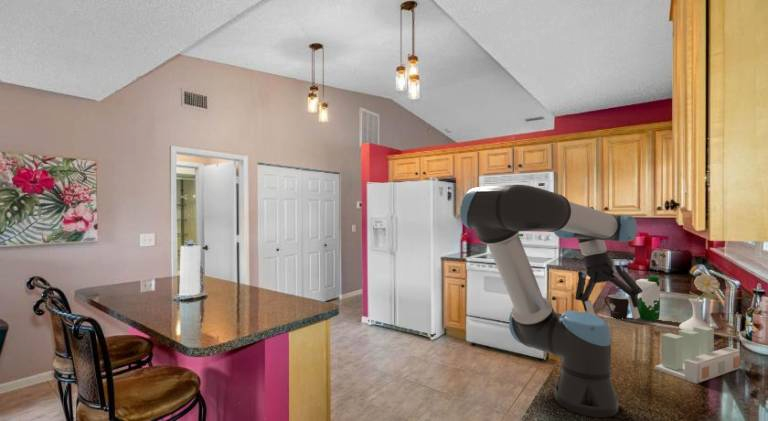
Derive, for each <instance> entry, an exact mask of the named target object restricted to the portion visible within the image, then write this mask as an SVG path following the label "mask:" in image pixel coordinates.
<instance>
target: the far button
mask: <svg viewBox="0 0 768 421" xmlns="http://www.w3.org/2000/svg"><path fill="white" fill-rule="evenodd" d="M712 328H713V327H712ZM712 328H708V327H704V326H696V327H693V331H694V332H698V333H699V356H700V355H703V354H706V353H710V352H713V351H715V340H714V339H715V335H714V334H715V329H714V328H713V329H712Z"/></svg>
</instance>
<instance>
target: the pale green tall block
mask: <svg viewBox="0 0 768 421" xmlns="http://www.w3.org/2000/svg"><path fill="white" fill-rule="evenodd" d="M661 364H662V366H665V367H668V368H671V369H674V370H678V369H681V368H683V337H682V336H679V335H678V334H675V333H671V332H668V333H667V332H666V333H663V334H661Z"/></svg>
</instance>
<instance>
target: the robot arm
mask: <svg viewBox="0 0 768 421" xmlns="http://www.w3.org/2000/svg"><path fill="white" fill-rule="evenodd" d="M459 217H460V220H461V222H462V225H463V226H465V227H466V228H467V229H469V230H472V231H473V230H474V231H475V233H476V234H477V237H478V240H479V241H480V243H482V244H485V245H487V247H488V249H489V252H490V253H491V255H492V259H493V261H494V264H495V266H496V268H497V270H498V272H499V275H500V277H501V280H502V281H503V284H504V286H505V287H504V288H505V290H506V291H507V293H508V295H509V298H510V301H511V303H512V305H513V306H512V308H511V311H510V315H509V317H508V320H509V323H508V327H509V332H510V335H511V337H513V339H514V340H515V341H516V342H518V343H520V344H522V345H523V346H526V347H528V348H533V349H534V350H535V349H536V350H539V351H541V352H543V353H548V354H551V355H554V356H557V357H560V358H561V371H560V373H559V376H558V378H557V381H556V384H555V387H554V398H555V401H556V402H557V403H558V404H559V405H560V406H561V407H563V408H564V409H567V410H568V411H570V412H573V413H576V414H579V415H582V416H586V417H591V418H610V417H613V416H616V415H618V414H617V413H618V412H619V399H618V397H617V395H616V391H615V389H614V385H613V382H612V379H611V378H612V377H611V361H612V360H611V359H612V358H611V356H612V355H611V354H612V353H611V351H612V348H611V346H612V337H611V328H610V326H609V323H607V322H606V321H605V320H604V319H603V318H602V317H599V316H597V315H596V313H595V311H594V307H593V303H592V300H591V299H590V296H591V294H592V292H593V290H594V288H595V286H596V285H597V284H600V283H607V282H610V283H612V284H614V285H615V286H616V287H618V289H620V290H621V291H622V292H624V293H625V294H627V295H628V296H627V299H628V302H629V305H628V306H629V308H630V311H631V315H632V318H633V319H634V320H637V319H638V318H640V315H639V312H638V308H637V307H639V301H638V298H637V295H638V294H639V293H642V289H641V288H640V287H639V286H638V285H637V284H636V281H634V279H633V278H632V277H631V276H630V275H629V274H628V273H627V271H626V270H625V268H624V266H623V265H622V264H618V265H615V266H612V262H611V259H610V255H609V253H608V252H607V250H608V249H607V246H606V242H605V241H610V242H611V241H612V242H620V243H622V242H632V241H634V240H635V239H636V236H637V232H638V224H637V220H636V218H635V217H633V216H632V215H624V214H619V215H615V214H611V213H608V212H604V211H601V210H598V209H595V208H593V207H591V206H588V207H587V206H584V205H581V204H578V203H576V202H575V203H574V202H572V201H569V199H568V198H567V197H565V196H564V195H562V194H559V193H556V192H553V191H550V190H547V189H543V188H539V187H536V186H532V185H527V184H517V183H516V184H508V185H492V186H490V185H489V186H488V185H483V186H479V187H473V188H471V189H469V190H468V191H467V192H466V193H465V194H464V196H463V198H462V200H461V204H460V208H459ZM536 231H538V232H543V231H544V232H548V233H549V232H550V233H554V234H555V236H556V237H558V238H561V239H565V240H566V239H567V240H570V239H577V241H578V244H579V245H578V246H579V249H580V253H581V255H582V256H583V257H582V259H583V262H584V267H585V268H586V270H585V271H584V270H581V271H577V275H578V281H577V285H576V286H577V287H576V291H575V297H574V298H575V300H576V301H580V302H582V305H583V310H584V311H577V310H565V311H563V312H562V313H559V312H556V311H555V310H554V307H553V304H552V302H551V301H550V300H549V299H548V298H547V297H544V296H543V293H542V291H541V289H540V286H539V284H538V281H537V278H536V276H535V274H534V273H535V272H534V271H533V268H532V266H531V263H530V260H529V258H528V255H527V253H526V250H525V248H524V245H523V242H522V240H521V237H520V236H519V233H520V232H536ZM614 272H615V273H617V274H618V276H619V277H620V278H622V280H623V281H624V282H623V281H621V280H620V279H619V278H618V277H617V276H615V275H614ZM587 277H589V280H588V281H587V285H586V280H587V279H586V278H587ZM585 286H586V288H585Z"/></svg>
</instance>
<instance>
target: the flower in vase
mask: <svg viewBox="0 0 768 421" xmlns="http://www.w3.org/2000/svg"><path fill="white" fill-rule="evenodd" d="M693 282H694V283H693V285H695V288H696V289H697V290H699V291H701V292H703V293H702V294H701V296H699V295H698V294H696V293H693V292H692V291H688V292H689V294H691V295H693V296H696V297H698V298H688V300H689V302H690V303H691V306H692V315H691V317H690V318H689V319H687V320H685V321H682V322H681V323H680V324H679V325H678V327H679V329H680V330H683V329H687V330H690V331H693V327H696V326H704V327H708V328H712V329H714V328H713V327H712V326H711V325H709V324H708V323H706V322H705V321H704V320H703V319H702V317H701V307H702V305H703V304H704V302H705V300H703V299H701V298H702V297H705V298H706V299H709V300H712V299H713V300H714V299H718V297H717V296H716V295H715V294H713V293H714V292H718V290H719V288H720V286H721V284H720V282H719V280H718V279H717V278H716V277H715V276H712V275H711V274H707V273H705V274H700V275H698V276H696V277H695V279H694V281H693Z"/></svg>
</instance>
